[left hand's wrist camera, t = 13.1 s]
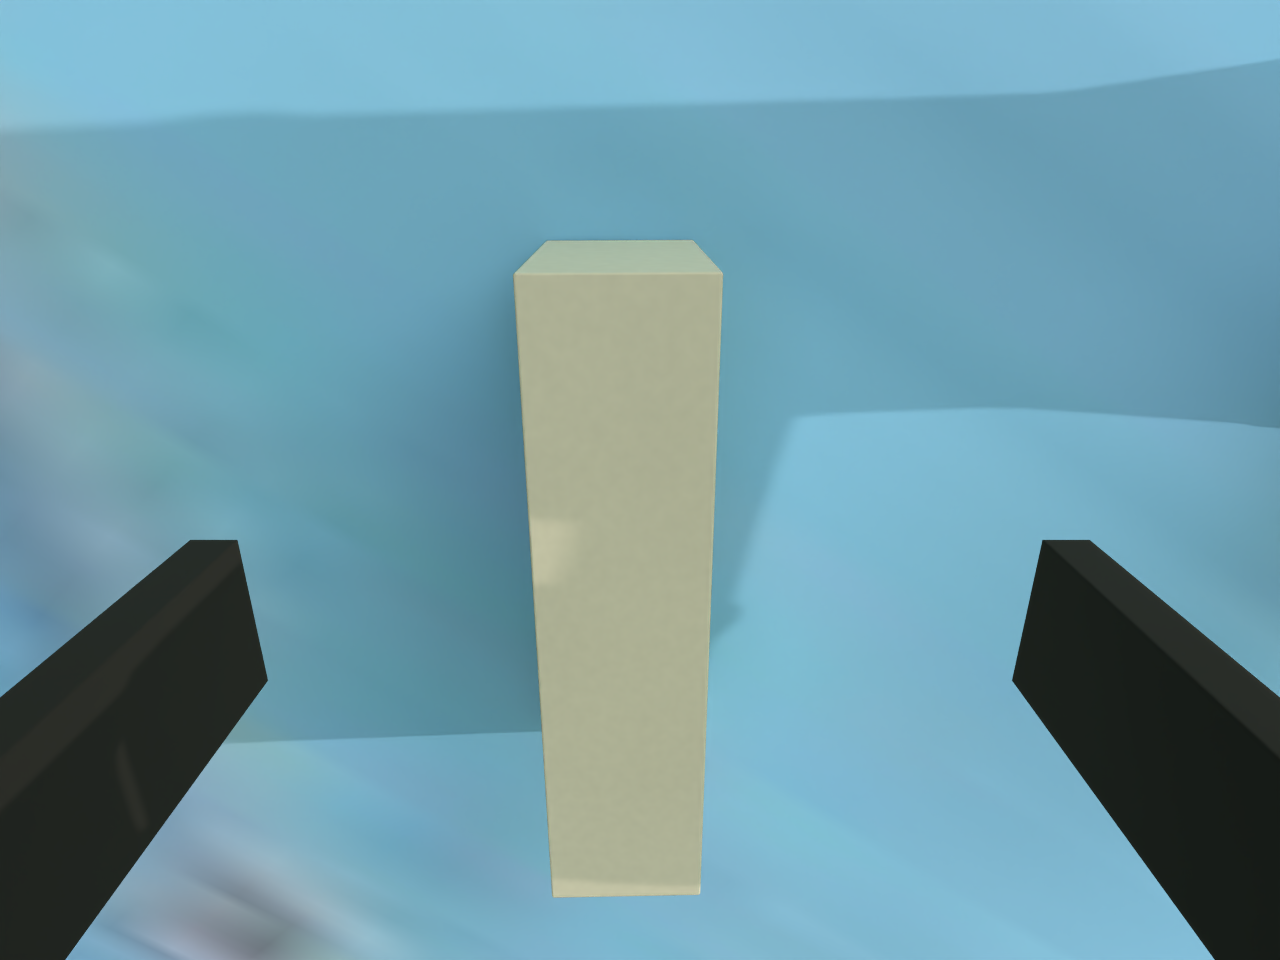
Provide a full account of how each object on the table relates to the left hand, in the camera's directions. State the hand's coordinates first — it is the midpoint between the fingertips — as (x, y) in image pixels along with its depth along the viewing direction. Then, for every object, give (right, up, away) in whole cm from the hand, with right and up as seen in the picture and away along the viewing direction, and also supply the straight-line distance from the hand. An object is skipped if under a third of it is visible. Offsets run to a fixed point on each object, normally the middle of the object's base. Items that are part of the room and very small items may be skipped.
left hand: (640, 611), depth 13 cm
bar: (-1, +1, +20) cm, 20 cm away
